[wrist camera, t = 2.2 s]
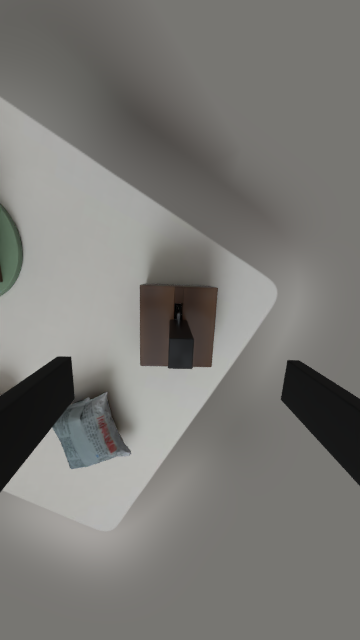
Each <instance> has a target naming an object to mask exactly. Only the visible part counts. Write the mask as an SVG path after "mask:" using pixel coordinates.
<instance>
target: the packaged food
mask: <svg viewBox="0 0 360 640" xmlns="http://www.w3.org/2000/svg"><path fill="white" fill-rule="evenodd" d="M52 428H53V429H54V431H55V433H56V435H57V436H58V438H59V440H60V442H61V444H62V447H63V449H64V452H65V454H66V457H67V460H68V462H69V466H70V468H71V469H74V468H80V467H88V466H90V465H93V464H97V463H100V462H102V461H105V460H108V459H111V458H114V457H116V456H129V455H130V454H131V451H130V450H129V448H128V447H127V446H126V445H125V444H124V442H123V439H122V438H121V436H120V434H119V432H118V430H117V428H116V426H115V423H114V420H113V419H112V417H111V411H110V407H109V403H108V400H107V392H105V393H103V394H102V395H100V396H98V397H96V398H94V399H91V400H90V399H89V398H86V399H84V401H81V402H80V401H79V402H76V403H74V404H72V405H69V406H68V408H67V409H66V410H65V411H64V413H63V414H62V415H61V417H60V418H59V419H58V420H57V422H56V423H55V424H54V425H53V427H52Z"/></svg>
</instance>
